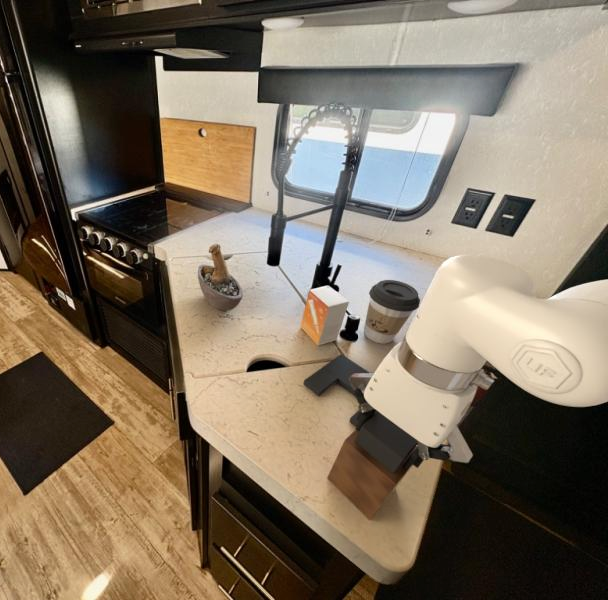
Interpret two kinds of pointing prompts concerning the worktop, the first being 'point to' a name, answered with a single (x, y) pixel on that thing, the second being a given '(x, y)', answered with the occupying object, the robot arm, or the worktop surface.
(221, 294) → the planter
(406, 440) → the black squat block
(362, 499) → the brown wooden block
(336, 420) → the worktop surface
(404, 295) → the coffee cup
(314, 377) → the black u-shaped block
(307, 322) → the small box
